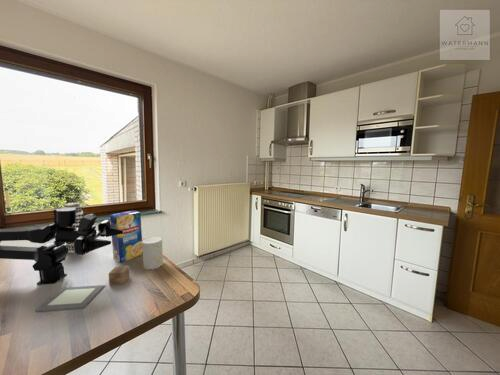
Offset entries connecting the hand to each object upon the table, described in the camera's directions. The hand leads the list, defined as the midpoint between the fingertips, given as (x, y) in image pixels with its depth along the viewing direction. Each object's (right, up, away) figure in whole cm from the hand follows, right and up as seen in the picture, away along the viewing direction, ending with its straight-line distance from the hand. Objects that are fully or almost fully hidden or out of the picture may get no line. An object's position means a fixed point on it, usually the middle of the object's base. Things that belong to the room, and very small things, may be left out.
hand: (117, 237), depth 84 cm
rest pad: (-8, -18, -12) cm, 23 cm away
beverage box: (-7, -15, +20) cm, 25 cm away
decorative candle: (-39, -13, +27) cm, 50 cm away
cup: (+9, -16, +12) cm, 22 cm away
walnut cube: (+2, -17, -1) cm, 17 cm away
